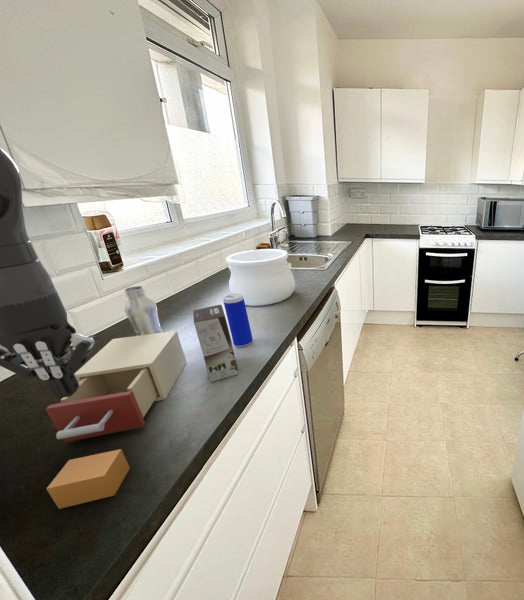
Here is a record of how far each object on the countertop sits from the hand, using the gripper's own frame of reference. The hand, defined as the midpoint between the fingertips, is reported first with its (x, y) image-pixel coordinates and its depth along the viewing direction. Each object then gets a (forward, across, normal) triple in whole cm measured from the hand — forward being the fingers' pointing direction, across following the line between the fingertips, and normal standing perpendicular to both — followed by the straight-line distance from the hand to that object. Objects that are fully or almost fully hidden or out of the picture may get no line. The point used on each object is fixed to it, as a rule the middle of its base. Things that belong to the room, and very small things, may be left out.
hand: (68, 394), depth 51 cm
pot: (+14, -18, -76) cm, 79 cm away
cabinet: (+14, +2, -22) cm, 26 cm away
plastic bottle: (+14, +5, -36) cm, 39 cm away
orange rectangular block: (+14, -3, +7) cm, 16 cm away
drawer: (+13, +2, -10) cm, 16 cm away
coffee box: (+14, -15, -24) cm, 31 cm away
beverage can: (+14, -17, -37) cm, 43 cm away
